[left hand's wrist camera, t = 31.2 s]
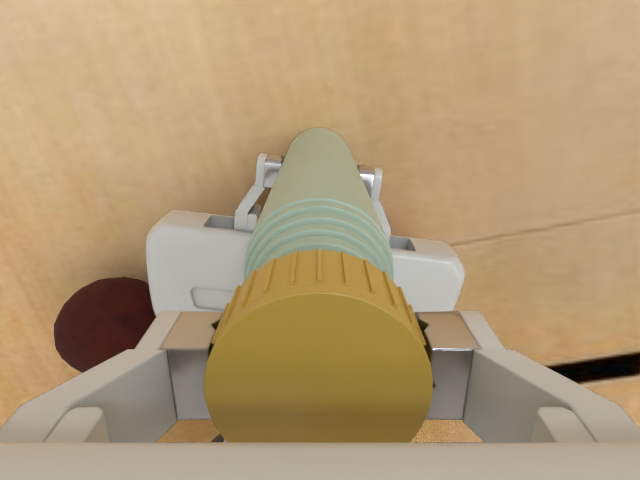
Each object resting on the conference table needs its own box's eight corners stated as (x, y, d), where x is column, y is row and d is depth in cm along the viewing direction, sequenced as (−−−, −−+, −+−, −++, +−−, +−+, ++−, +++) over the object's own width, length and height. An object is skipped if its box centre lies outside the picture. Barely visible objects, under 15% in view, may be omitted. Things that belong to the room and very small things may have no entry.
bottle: (280, 182, 32) (188, 430, 10) (295, 119, 30) (229, 238, 8) (341, 198, 32) (389, 471, 10) (359, 137, 31) (465, 297, 8)
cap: (369, 431, 11) (379, 503, 9) (200, 381, 11) (174, 447, 9) (447, 285, 10) (479, 336, 8) (255, 218, 9) (239, 254, 7)
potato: (68, 299, 35) (11, 351, 29) (130, 242, 34) (85, 283, 27) (137, 356, 37) (98, 416, 31) (199, 305, 36) (172, 358, 29)
